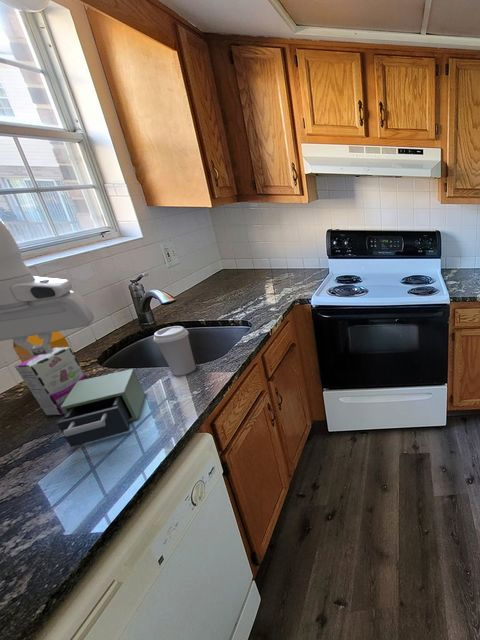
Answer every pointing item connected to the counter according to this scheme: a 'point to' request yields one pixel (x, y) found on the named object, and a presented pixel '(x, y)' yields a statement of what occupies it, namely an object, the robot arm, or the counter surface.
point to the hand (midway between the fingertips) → (42, 353)
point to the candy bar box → (52, 377)
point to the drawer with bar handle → (95, 421)
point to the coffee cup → (176, 349)
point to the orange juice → (56, 341)
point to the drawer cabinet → (108, 391)
